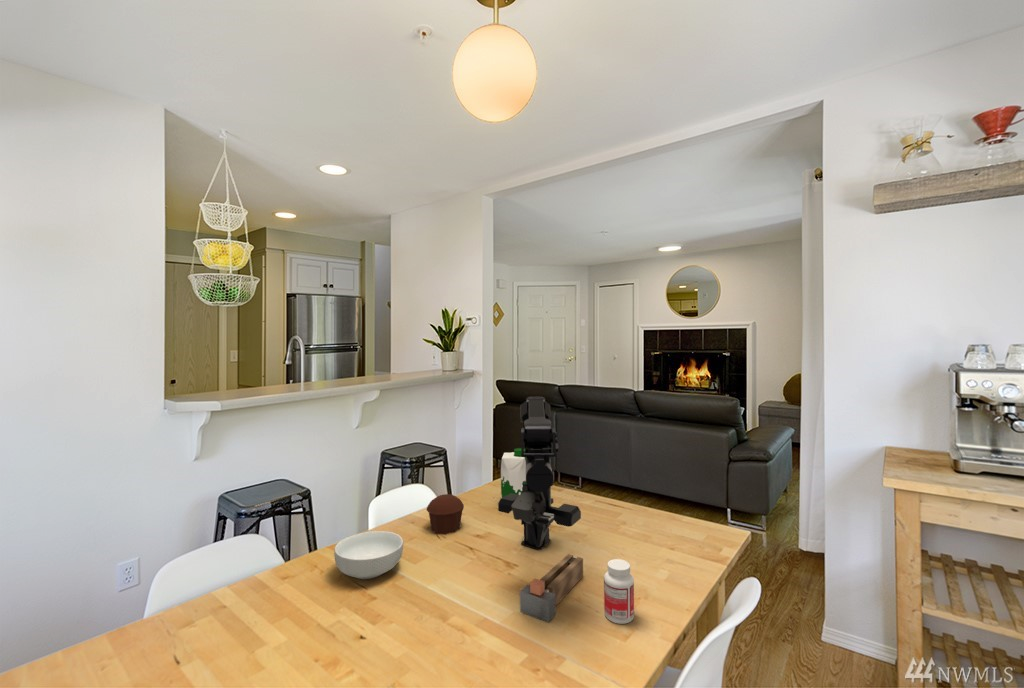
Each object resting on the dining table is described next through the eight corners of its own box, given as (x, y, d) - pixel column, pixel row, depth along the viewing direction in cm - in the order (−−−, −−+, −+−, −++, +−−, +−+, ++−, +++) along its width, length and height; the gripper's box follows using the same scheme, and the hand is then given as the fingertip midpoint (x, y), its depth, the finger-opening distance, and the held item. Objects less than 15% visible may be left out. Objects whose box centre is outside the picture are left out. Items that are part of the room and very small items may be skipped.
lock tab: (530, 592, 97) (530, 582, 97) (535, 588, 99) (534, 578, 99) (540, 596, 96) (540, 585, 96) (544, 591, 98) (544, 581, 98)
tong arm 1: (544, 605, 100) (543, 585, 100) (536, 602, 101) (536, 582, 101) (575, 573, 113) (575, 556, 113) (568, 571, 114) (568, 553, 114)
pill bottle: (621, 604, 100) (621, 554, 100) (640, 619, 95) (640, 567, 95) (598, 612, 98) (598, 561, 98) (616, 628, 92) (616, 574, 92)
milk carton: (526, 511, 155) (525, 452, 155) (499, 510, 156) (499, 452, 156) (527, 501, 164) (527, 446, 163) (502, 501, 165) (502, 446, 164)
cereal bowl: (416, 570, 116) (416, 542, 116) (355, 597, 104) (355, 567, 104) (381, 549, 128) (380, 524, 128) (322, 572, 116) (322, 544, 115)
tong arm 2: (552, 608, 99) (552, 588, 99) (544, 606, 100) (544, 585, 100) (583, 576, 112) (582, 558, 112) (575, 573, 113) (575, 556, 113)
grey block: (520, 611, 98) (519, 590, 98) (528, 603, 101) (528, 583, 101) (548, 622, 94) (548, 600, 94) (556, 613, 97) (556, 592, 97)
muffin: (449, 517, 150) (449, 487, 149) (471, 527, 142) (471, 495, 142) (419, 529, 141) (418, 497, 141) (440, 539, 133) (440, 506, 133)
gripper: (484, 481, 102) (484, 550, 102) (560, 494, 92) (560, 572, 92) (510, 469, 111) (510, 533, 111) (581, 480, 102) (582, 550, 102)
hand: (538, 546), depth 104 cm, fingers closed
